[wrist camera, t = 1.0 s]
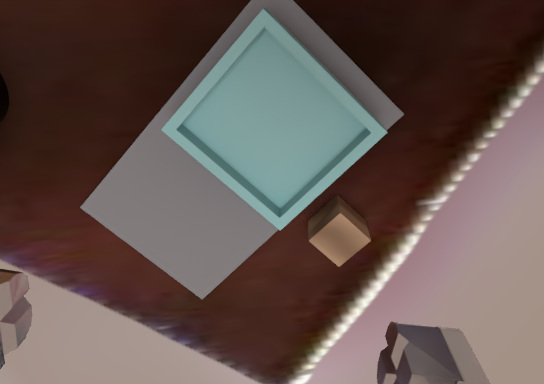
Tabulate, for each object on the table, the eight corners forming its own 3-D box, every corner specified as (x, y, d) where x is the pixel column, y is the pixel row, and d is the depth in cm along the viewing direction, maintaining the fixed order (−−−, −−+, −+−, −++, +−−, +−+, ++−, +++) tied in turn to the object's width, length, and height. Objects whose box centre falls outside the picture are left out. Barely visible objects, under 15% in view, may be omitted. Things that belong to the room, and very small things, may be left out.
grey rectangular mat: (270, -23, 39) (270, -23, 39) (403, 113, 44) (404, 114, 43) (81, 206, 50) (80, 207, 50) (202, 297, 54) (202, 299, 54)
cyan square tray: (267, 7, 40) (263, 8, 36) (378, 119, 43) (387, 132, 39) (174, 116, 45) (160, 129, 40) (282, 209, 48) (280, 230, 44)
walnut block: (337, 194, 48) (340, 212, 44) (365, 219, 49) (371, 240, 45) (307, 220, 49) (308, 240, 45) (335, 244, 50) (339, 266, 46)
